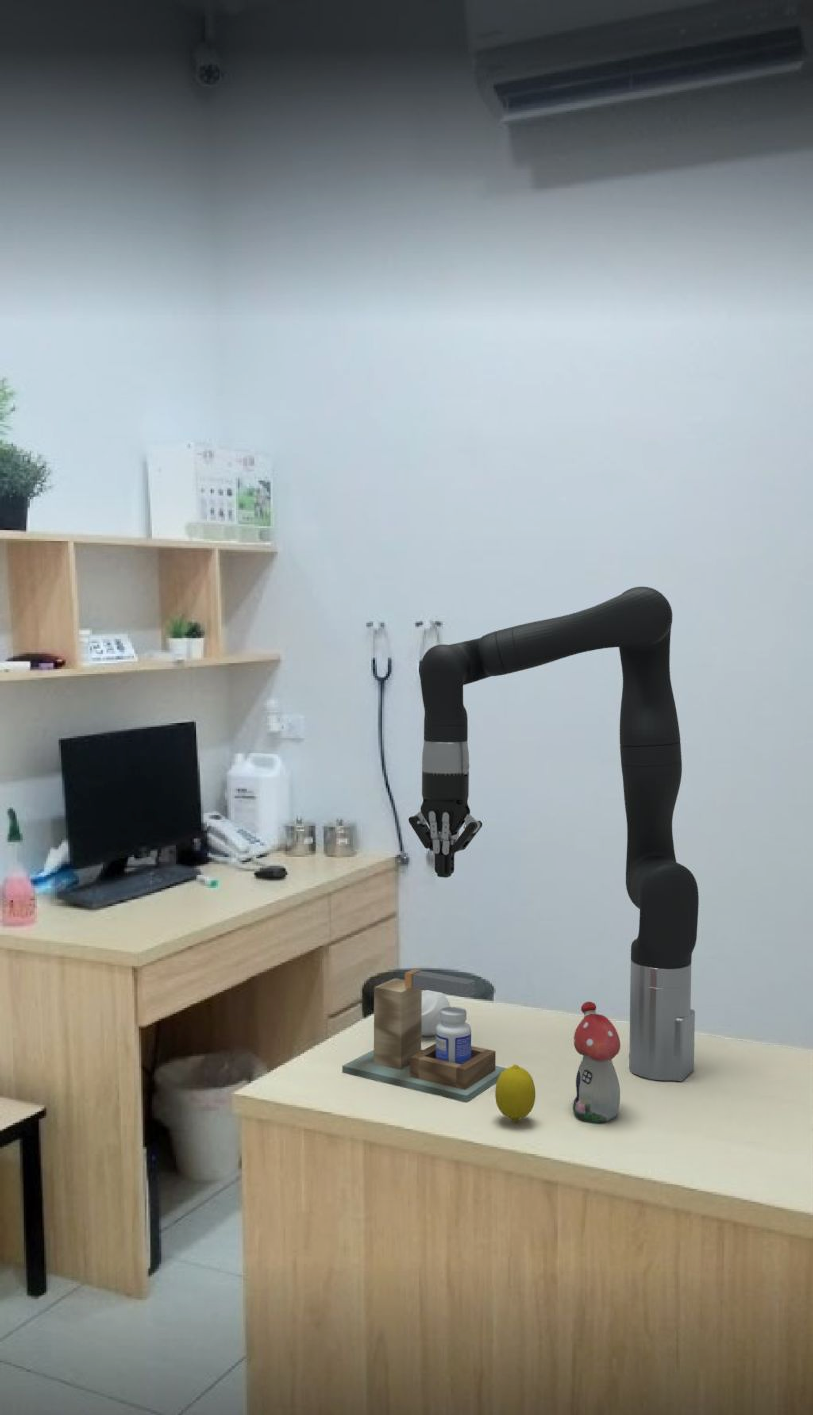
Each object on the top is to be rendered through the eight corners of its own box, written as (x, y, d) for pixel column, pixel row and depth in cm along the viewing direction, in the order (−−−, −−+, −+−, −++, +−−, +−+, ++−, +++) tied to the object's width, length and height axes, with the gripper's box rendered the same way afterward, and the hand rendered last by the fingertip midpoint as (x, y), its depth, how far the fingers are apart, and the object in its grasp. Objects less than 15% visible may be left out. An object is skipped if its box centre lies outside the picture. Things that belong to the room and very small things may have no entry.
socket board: (507, 1074, 176) (508, 991, 175) (466, 1102, 165) (467, 1013, 164) (388, 1048, 187) (388, 969, 187) (342, 1072, 176) (342, 988, 176)
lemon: (540, 1118, 159) (540, 1061, 159) (527, 1132, 154) (528, 1074, 154) (503, 1111, 162) (503, 1055, 161) (489, 1125, 157) (489, 1068, 156)
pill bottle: (472, 1067, 176) (472, 1005, 175) (470, 1080, 170) (470, 1016, 170) (436, 1066, 176) (437, 1004, 176) (434, 1079, 171) (434, 1014, 171)
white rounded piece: (401, 1029, 197) (401, 984, 197) (443, 1025, 199) (443, 982, 199) (412, 1044, 190) (412, 998, 189) (456, 1040, 191) (456, 995, 191)
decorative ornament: (572, 1098, 166) (573, 997, 166) (617, 1101, 165) (619, 999, 165) (572, 1124, 157) (574, 1016, 156) (621, 1127, 156) (622, 1019, 156)
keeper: (475, 993, 172) (475, 979, 172) (466, 998, 170) (466, 983, 170) (414, 982, 178) (414, 968, 178) (404, 986, 176) (404, 972, 176)
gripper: (398, 768, 183) (397, 875, 184) (470, 773, 176) (469, 884, 177) (422, 765, 190) (421, 868, 190) (492, 769, 183) (491, 877, 183)
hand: (444, 876), depth 184 cm, fingers closed
